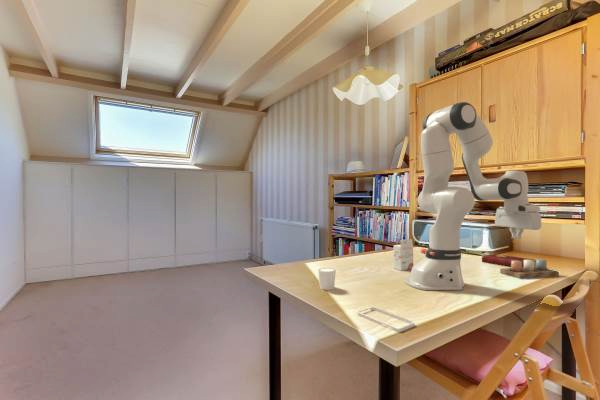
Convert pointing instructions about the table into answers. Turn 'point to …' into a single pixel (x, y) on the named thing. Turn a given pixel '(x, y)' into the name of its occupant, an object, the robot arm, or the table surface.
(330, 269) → the shot glass
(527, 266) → the cream button
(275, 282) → the table surface
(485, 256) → the hardcover book
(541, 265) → the slate-grey button
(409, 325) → the beige elongated ring
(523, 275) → the button board
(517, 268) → the terracotta button
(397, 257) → the ink cartridge box
